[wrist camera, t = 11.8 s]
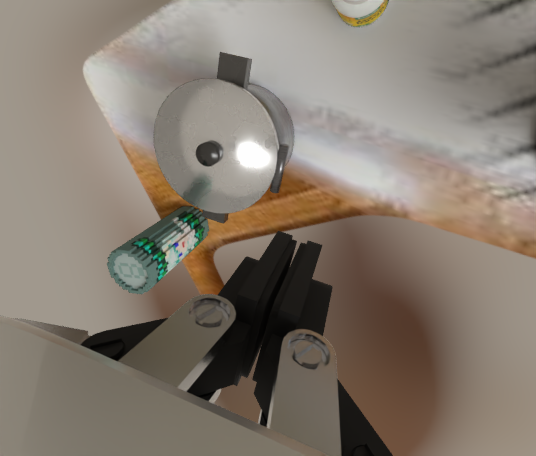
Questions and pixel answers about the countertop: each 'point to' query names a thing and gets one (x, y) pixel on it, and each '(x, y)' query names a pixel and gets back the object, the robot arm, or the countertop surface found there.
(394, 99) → the countertop surface
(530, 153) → the countertop surface
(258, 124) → the lid
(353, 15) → the supplement bottle
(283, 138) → the pot
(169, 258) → the can
